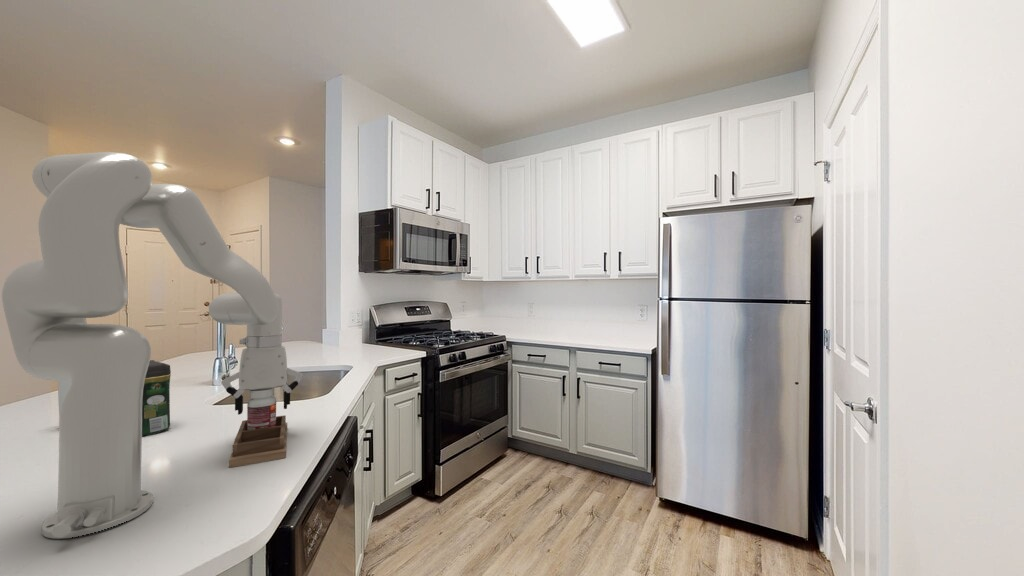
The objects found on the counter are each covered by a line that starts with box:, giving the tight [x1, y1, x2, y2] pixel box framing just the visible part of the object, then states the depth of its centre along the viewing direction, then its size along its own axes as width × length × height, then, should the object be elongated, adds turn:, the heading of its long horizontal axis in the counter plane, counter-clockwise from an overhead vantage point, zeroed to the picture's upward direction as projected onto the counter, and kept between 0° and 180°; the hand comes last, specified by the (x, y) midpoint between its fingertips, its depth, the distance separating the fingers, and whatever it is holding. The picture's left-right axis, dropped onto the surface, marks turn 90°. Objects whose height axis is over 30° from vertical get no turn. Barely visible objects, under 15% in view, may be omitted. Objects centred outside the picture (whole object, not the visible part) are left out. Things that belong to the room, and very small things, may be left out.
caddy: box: [228, 415, 288, 469], centre depth 95 cm, size 22×10×4 cm, turn 29°
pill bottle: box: [246, 388, 277, 430], centre depth 99 cm, size 6×6×11 cm
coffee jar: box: [142, 359, 172, 436], centre depth 104 cm, size 10×8×19 cm
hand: (263, 410), depth 99 cm, fingers open, 9 cm apart
